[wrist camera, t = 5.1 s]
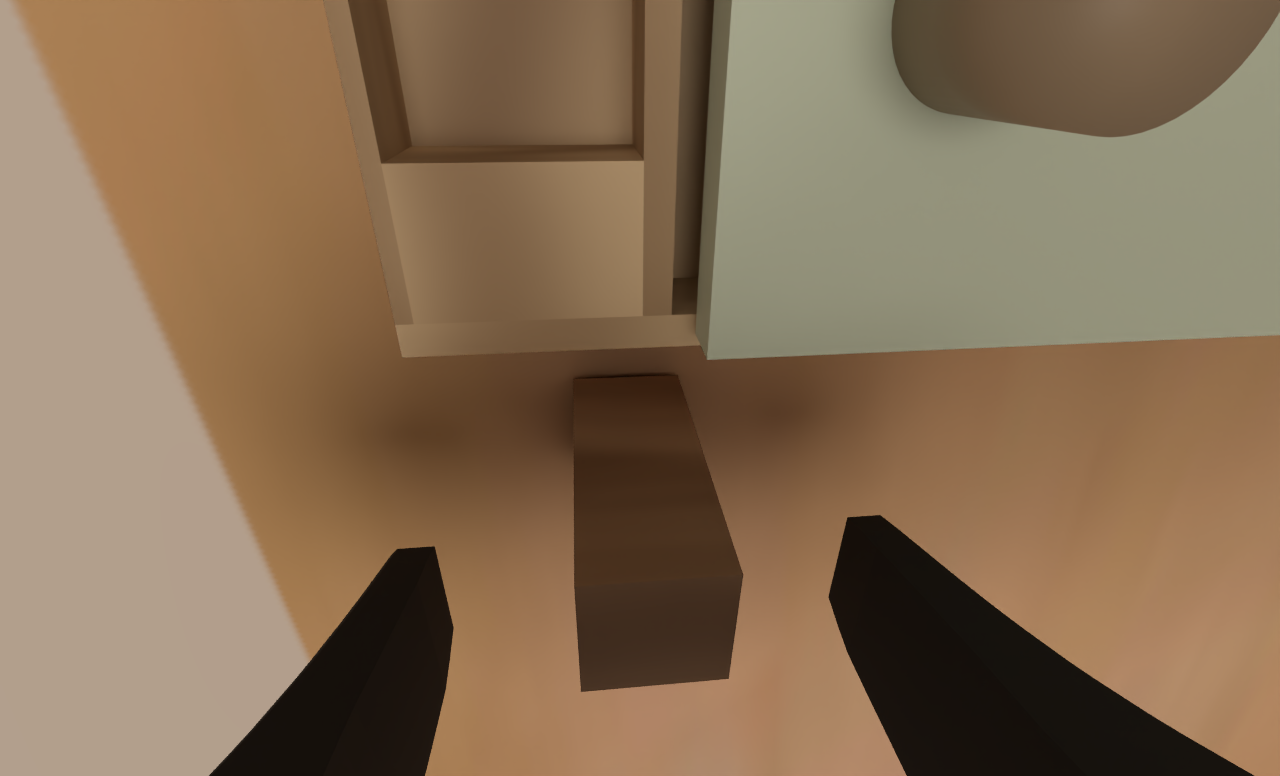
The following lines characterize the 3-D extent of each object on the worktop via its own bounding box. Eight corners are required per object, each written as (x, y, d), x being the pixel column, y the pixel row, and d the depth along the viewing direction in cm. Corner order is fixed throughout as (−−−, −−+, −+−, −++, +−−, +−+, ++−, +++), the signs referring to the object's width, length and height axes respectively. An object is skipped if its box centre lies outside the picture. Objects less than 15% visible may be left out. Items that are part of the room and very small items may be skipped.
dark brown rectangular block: (673, 458, 15) (728, 678, 10) (577, 463, 14) (581, 691, 9) (677, 375, 13) (742, 574, 8) (573, 379, 13) (574, 587, 8)
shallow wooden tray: (1633, -357, 9) (1976, -491, 7) (1275, 276, 14) (1406, 316, 12) (290, -471, 7) (167, -703, 5) (432, 303, 12) (401, 357, 10)
